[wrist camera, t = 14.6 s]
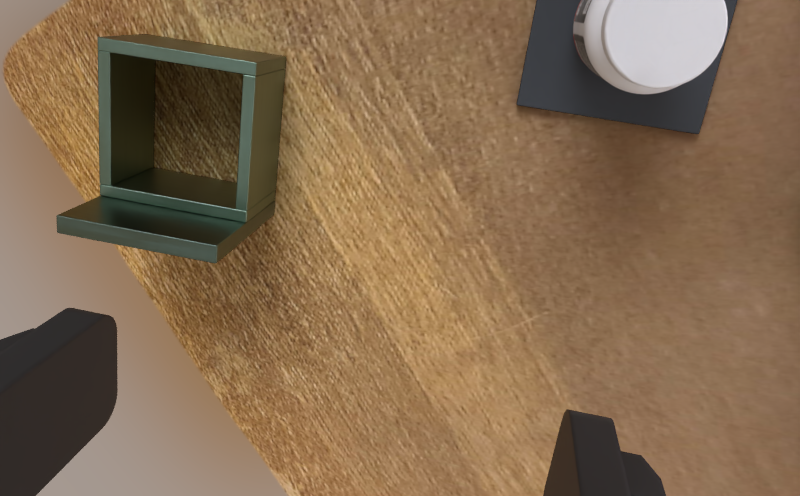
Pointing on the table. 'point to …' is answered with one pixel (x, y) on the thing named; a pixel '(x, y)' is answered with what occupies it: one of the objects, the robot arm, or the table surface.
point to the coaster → (591, 95)
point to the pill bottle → (649, 40)
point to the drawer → (167, 190)
